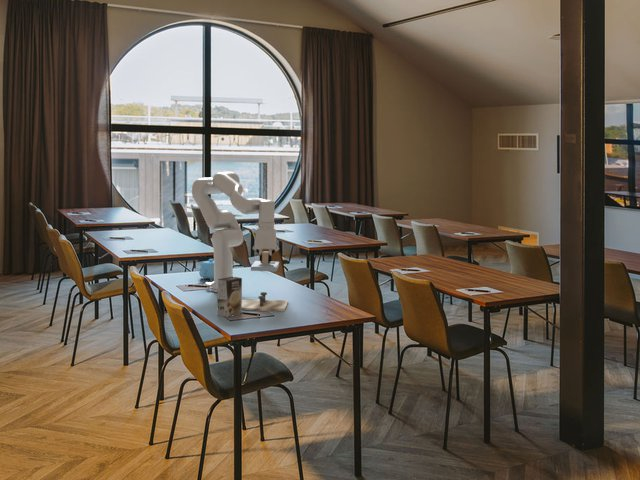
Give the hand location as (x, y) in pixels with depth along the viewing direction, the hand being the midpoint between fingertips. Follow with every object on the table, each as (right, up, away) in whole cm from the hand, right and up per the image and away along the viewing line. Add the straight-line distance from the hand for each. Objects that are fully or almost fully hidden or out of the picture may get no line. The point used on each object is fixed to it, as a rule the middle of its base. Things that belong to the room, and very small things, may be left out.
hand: (265, 262), depth 343 cm
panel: (0, -3, 0) cm, 3 cm away
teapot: (-34, -11, +52) cm, 63 cm away
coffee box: (-13, -22, -33) cm, 42 cm away
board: (0, -20, -17) cm, 26 cm away
